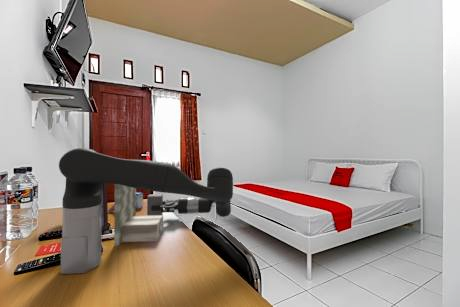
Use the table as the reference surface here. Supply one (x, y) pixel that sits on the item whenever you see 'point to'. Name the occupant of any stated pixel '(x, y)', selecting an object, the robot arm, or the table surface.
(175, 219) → the table surface
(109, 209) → the video game controller
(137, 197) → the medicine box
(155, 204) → the dark grey block
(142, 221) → the wall shelf
